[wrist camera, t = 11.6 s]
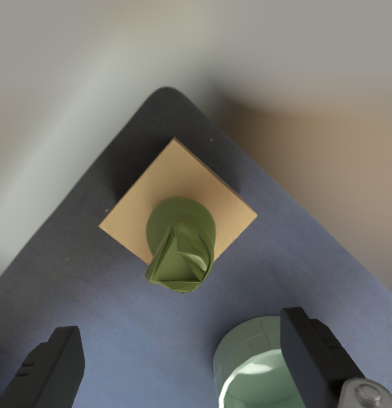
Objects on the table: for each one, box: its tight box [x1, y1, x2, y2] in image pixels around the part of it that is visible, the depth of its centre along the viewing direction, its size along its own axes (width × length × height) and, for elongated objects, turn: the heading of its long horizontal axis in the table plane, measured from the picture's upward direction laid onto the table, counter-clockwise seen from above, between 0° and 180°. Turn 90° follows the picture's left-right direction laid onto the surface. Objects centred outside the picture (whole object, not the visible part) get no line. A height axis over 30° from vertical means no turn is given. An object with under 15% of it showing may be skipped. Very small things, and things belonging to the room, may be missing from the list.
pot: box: [213, 316, 306, 408], centre depth 38 cm, size 14×14×6 cm
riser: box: [99, 136, 258, 265], centre depth 31 cm, size 10×10×8 cm
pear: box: [145, 197, 216, 293], centre depth 22 cm, size 6×5×10 cm
